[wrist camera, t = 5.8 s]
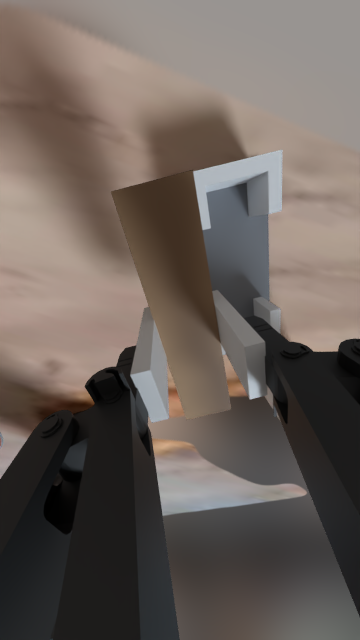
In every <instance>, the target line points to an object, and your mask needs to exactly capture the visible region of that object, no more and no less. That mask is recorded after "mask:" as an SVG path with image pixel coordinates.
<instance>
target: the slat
mask: <svg viewBox="0 0 360 640" xmlns="http://www.w3.org/2000/svg"><path fill="white" fill-rule="evenodd" d="M111 194H112V197H113V200H114V203H115V206H116V209H117V212H118V215H119V218H120V221H121V224H122V227H123V230H124V233H125V236H126V239H127V242H128V245H129V248H130V251H131V254H132V257H133V260H134V263H135V266H136V269H137V272H138V275H139V278H140V281H141V284H142V287H143V290H144V293H145V296H146V299H147V302H148V305H149V308H150V311H151V314H152V317H153V320H154V321H155V324H156V327H157V330H158V333H159V336H160V339H161V342H162V345H163V348H164V351H165V354H166V357H167V362H168V365H169V368H170V371H171V374H172V377H173V380H174V383H175V386H176V389H177V392H178V395H179V399H180V402H181V405H182V408H183V411H184V414H185V417H186V419H187V420H188V419H193V418H197V417H201V416H205V415H209V414H213V413H217V412H222V411H226V410H230V409H231V405H230V398H229V392H228V386H227V380H226V373H225V367H224V361H223V355H222V348H221V342H220V336H219V330H218V323H217V317H216V311H215V305H214V298H213V292H212V286H211V280H210V273H209V267H208V261H207V255H206V249H205V242H204V236H203V230H202V224H201V217H200V211H199V205H198V199H197V192H196V186H195V180H194V174H193V170H191V171H187V172H183V173H179V174H176V175H172V176H168V177H164V178H161V179H157V180H153V181H149V182H145V183H142V184H138V185H134V186H130V187H127V188H123V189H119V190H115V191H111Z"/></svg>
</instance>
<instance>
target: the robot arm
mask: <svg viewBox="0 0 360 640" xmlns="http://www.w3.org/2000/svg"><path fill="white" fill-rule="evenodd" d="M212 292H213V298H214V305H215V311H216V317H217V323H218V330H219V336H220V342H221V345H222V347H223V349H224V350H225V352H226V354H227V356H228V358H229V360H230V362H231V364H232V366H233V368H234V370H235V372H236V374H237V375H238V377H239V379H240V381H241V383H242V385H243V387H244V389H245V391H246V393H247V395H248V397H249V399H253V398H258V397H262V396H266V395H267V386H268V388H269V389H270V390H271V392H272V393H273V413H274V417H275V416H277V413H278V416H279V418H280V421H281V423H282V425H283V428H284V431H285V433H286V435H287V438H288V440H289V443H290V446H291V448H292V450H293V453H294V455H295V458H296V460H297V463H298V465H299V468H300V470H301V473H302V475H303V478H304V480H305V482H306V485H307V488H308V490H309V493H310V495H311V497H312V500H313V502H314V505H315V507H316V510H317V512H318V515H319V517H320V520H321V522H322V525H323V527H324V530H325V532H326V535H327V537H328V539H329V542H330V544H331V547H332V549H333V551H334V554H335V557H336V559H337V562H338V564H339V567H340V569H341V572H342V574H343V576H344V579H345V582H346V584H347V586H348V589H349V591H350V594H351V596H352V599H353V601H354V603H355V606H356V609H357V611H358V614H359V616H360V339H349V340H345V341H343V342H341V344H340V345H339V349H338V352H313V351H312V350H311V349H310V348H309V347H308V346H306V345H303V344H301V343H296V342H289V341H288V340H286V339H285V338H284V337H283V336H282V335H281V334H280V333H279V332H277V331H276V330H275V329H274V328H273V327H272V326H271V325H269V324H268V323H267V322H266V321H265V320H264V319H263V318H260V317H257V316H255V315H254V316H250V317H246V318H243V317H242V316H241V315H240V314H239V313H238V312H237V311H236V310H235V308H234V307H233V306H232V305H231V304H230V303H229V302H228V301H227V300H226V299H225V298H224V296H223V295H222V294H221V293H220V292H219V291H218V290H215V291H212ZM85 388H86V389H87V391H88V393H89V394H90V396H91V397H92V399H93V401H94V402H95V405H94V406H93V407H91V408H90V409H88V410H86V411H84V412H79V413H75V414H72V413H71V412H70V411H69V410H61V411H58V412H55V413H53V414H51V415H50V416H48V417H47V418H45V419H44V420H43V421H42V422H41V423H40V424H39V425H38V426H37V427H36V428H35V429H34V431H33V432H32V434H31V435H30V437H29V438H28V439H27V441H26V442H25V444H24V445H23V447H22V448H21V450H20V451H19V453H18V454H17V456H16V457H15V458H14V460H13V461H12V463H11V464H10V466H9V467H8V469H7V470H6V472H5V473H4V474H3V476H2V477H1V479H0V640H180V639H179V632H178V625H177V617H176V611H175V603H174V596H173V589H172V581H171V575H170V567H169V560H168V552H167V546H166V538H165V531H164V524H163V516H162V509H161V502H160V495H159V487H158V480H157V473H156V466H155V458H154V451H153V444H152V437H151V432H150V429H149V427H148V415H149V417H150V420H151V422H152V423H153V422H157V421H161V420H166V419H169V404H168V380H167V357H166V354H165V351H164V348H163V345H162V342H161V339H160V336H159V333H158V330H157V327H156V324H155V321H154V320H153V317H152V314H151V311H150V308H149V307H147V308H144V312H143V317H142V322H141V327H140V331H139V336H138V341H137V345H136V346H132V347H128V348H125V349H124V351H123V352H122V353H121V354H120V356H119V359H118V363H117V366H116V367H109V368H105V369H103V370H101V371H99V372H97V373H96V374H94V375H93V376H92V377H91V378H90V379H89V380H88V381H87V383H86V385H85Z"/></svg>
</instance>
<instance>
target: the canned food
mask: <svg viewBox="0 0 360 640" xmlns="http://www.w3.org/2000/svg"><path fill="white" fill-rule="evenodd" d="M2 445H3V437H2V435H1V433H0V448H1V447H2Z"/></svg>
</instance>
